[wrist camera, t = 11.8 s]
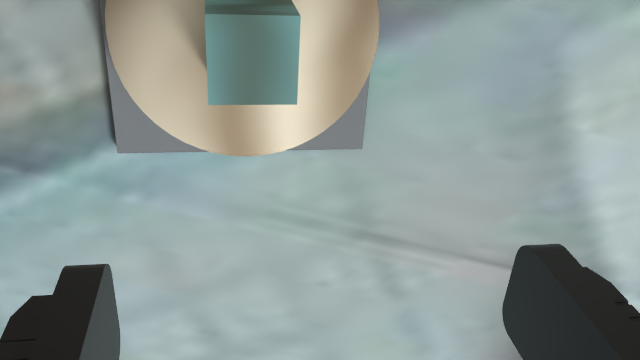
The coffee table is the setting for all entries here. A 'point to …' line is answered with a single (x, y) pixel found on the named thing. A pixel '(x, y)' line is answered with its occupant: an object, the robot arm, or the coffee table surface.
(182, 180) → the coffee table surface
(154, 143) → the mat
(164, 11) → the lid
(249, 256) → the coffee table surface
